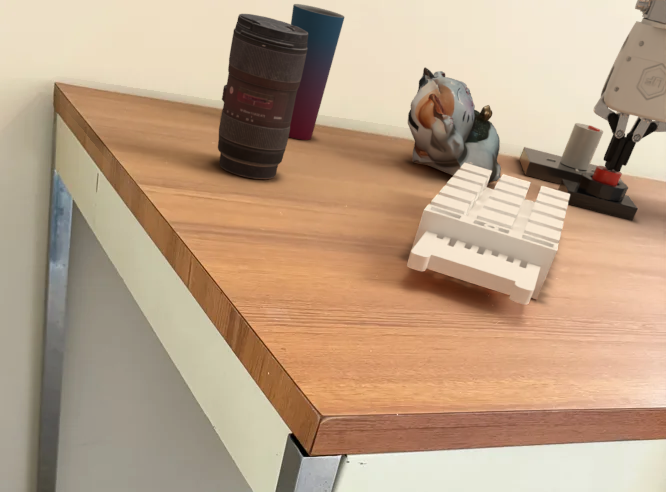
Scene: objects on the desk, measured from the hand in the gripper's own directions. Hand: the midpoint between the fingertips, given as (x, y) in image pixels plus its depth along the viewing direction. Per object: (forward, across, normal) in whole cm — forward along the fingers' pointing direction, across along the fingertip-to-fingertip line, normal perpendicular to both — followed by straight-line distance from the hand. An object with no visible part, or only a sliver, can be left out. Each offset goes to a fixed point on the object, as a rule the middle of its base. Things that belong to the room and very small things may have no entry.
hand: (611, 168), depth 115 cm
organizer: (+5, -18, -38) cm, 43 cm away
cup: (+5, -44, -4) cm, 45 cm away
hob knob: (+3, -2, +14) cm, 14 cm away
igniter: (+5, 0, 0) cm, 5 cm away
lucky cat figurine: (+5, -22, -3) cm, 23 cm away
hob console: (+5, -2, +14) cm, 15 cm away
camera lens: (+5, -46, -29) cm, 55 cm away
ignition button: (+2, 0, 0) cm, 2 cm away
